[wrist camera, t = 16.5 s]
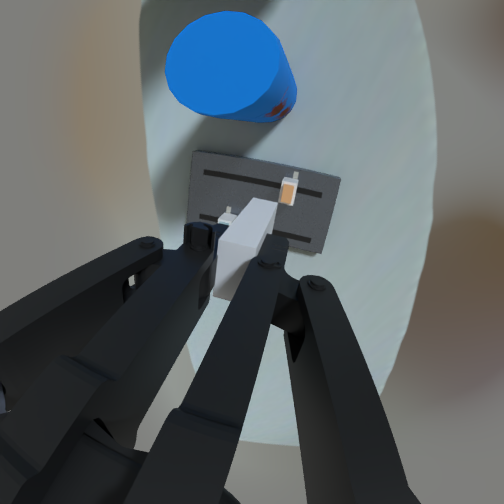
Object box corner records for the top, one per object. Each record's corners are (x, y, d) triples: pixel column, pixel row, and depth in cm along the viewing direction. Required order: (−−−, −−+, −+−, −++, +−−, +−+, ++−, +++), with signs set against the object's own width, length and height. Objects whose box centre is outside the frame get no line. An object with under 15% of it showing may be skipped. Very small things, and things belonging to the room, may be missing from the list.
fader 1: (224, 212, 49) (216, 220, 46) (237, 215, 49) (230, 223, 45) (222, 230, 51) (214, 239, 47) (234, 233, 51) (228, 242, 47)
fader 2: (284, 176, 44) (281, 181, 41) (298, 179, 44) (297, 184, 40) (280, 197, 46) (277, 203, 42) (294, 200, 46) (292, 206, 42)
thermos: (265, 135, 44) (218, 142, 22) (222, 95, 42) (143, 73, 20) (311, 94, 40) (310, 56, 17) (266, 54, 38) (221, -8, 16)
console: (197, 150, 48) (192, 151, 46) (339, 177, 45) (341, 179, 43) (190, 224, 55) (186, 228, 53) (319, 253, 51) (319, 258, 50)
